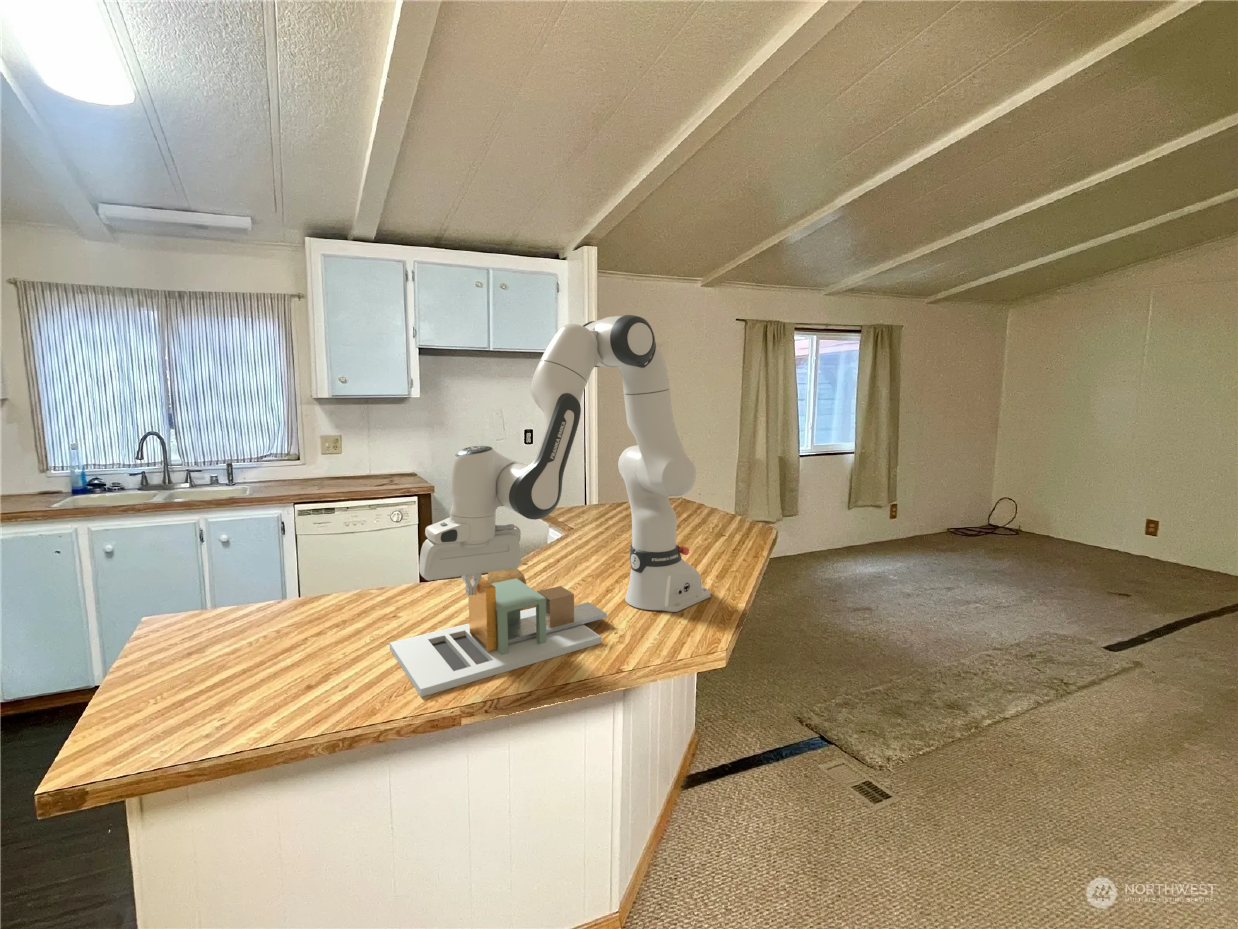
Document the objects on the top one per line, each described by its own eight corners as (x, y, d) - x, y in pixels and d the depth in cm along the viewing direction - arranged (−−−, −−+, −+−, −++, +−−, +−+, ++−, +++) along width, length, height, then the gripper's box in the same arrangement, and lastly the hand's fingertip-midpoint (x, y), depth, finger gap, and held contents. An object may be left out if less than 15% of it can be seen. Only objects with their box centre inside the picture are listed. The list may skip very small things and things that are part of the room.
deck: (552, 609, 144) (552, 603, 144) (601, 643, 126) (601, 636, 126) (389, 649, 123) (389, 642, 123) (420, 697, 105) (420, 689, 105)
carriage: (586, 604, 143) (586, 551, 140) (609, 619, 134) (609, 563, 132) (469, 634, 126) (467, 574, 124) (487, 652, 118) (485, 589, 116)
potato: (497, 610, 143) (496, 579, 142) (480, 591, 155) (480, 562, 154) (535, 603, 148) (534, 572, 147) (516, 585, 160) (516, 557, 159)
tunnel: (517, 619, 135) (516, 578, 133) (546, 642, 123) (545, 598, 122) (475, 629, 129) (473, 587, 128) (501, 655, 118) (500, 608, 116)
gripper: (514, 520, 127) (512, 582, 128) (417, 528, 115) (416, 597, 117) (527, 526, 122) (525, 591, 123) (426, 536, 110) (425, 607, 112)
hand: (471, 594), depth 120 cm, fingers closed
